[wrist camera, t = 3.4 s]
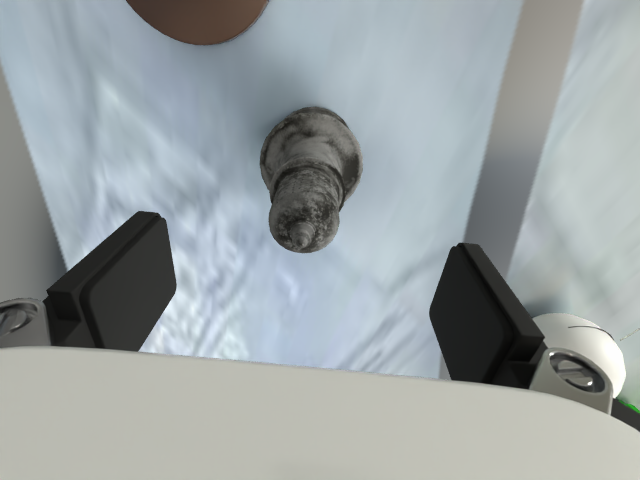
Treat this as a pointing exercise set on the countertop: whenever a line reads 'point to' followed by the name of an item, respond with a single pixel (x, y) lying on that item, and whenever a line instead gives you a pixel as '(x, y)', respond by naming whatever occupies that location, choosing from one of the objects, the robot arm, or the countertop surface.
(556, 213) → the countertop surface
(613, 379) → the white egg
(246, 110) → the countertop surface
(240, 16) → the coaster
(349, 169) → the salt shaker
